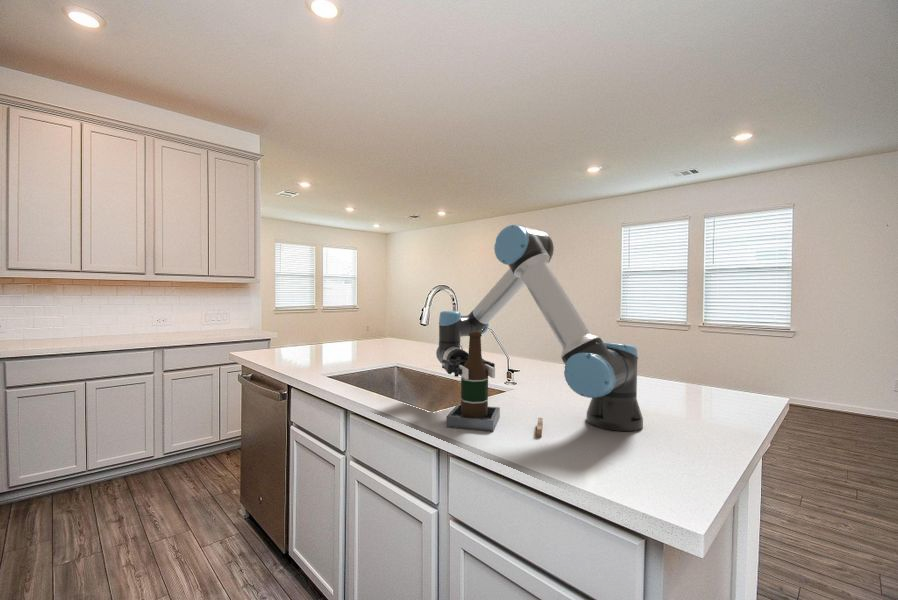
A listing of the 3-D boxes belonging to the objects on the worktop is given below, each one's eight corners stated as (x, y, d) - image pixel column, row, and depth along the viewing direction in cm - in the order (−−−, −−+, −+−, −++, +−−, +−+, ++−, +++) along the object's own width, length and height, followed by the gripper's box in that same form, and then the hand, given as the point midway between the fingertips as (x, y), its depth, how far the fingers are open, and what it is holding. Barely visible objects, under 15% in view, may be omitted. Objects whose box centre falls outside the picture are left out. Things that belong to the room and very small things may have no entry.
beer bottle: (486, 420, 111) (487, 333, 111) (458, 418, 113) (459, 333, 113) (489, 412, 119) (490, 331, 119) (463, 410, 121) (464, 330, 120)
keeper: (499, 417, 121) (499, 407, 121) (493, 431, 108) (493, 420, 108) (457, 413, 124) (457, 404, 124) (446, 427, 111) (446, 416, 111)
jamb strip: (538, 424, 114) (538, 417, 114) (542, 425, 114) (542, 418, 114) (536, 436, 105) (536, 429, 105) (541, 437, 104) (541, 429, 104)
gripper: (485, 370, 136) (513, 385, 114) (427, 372, 131) (445, 389, 108) (485, 347, 136) (514, 359, 114) (427, 349, 130) (445, 361, 108)
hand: (480, 373), depth 111 cm, fingers closed on beer bottle, 7 cm apart
